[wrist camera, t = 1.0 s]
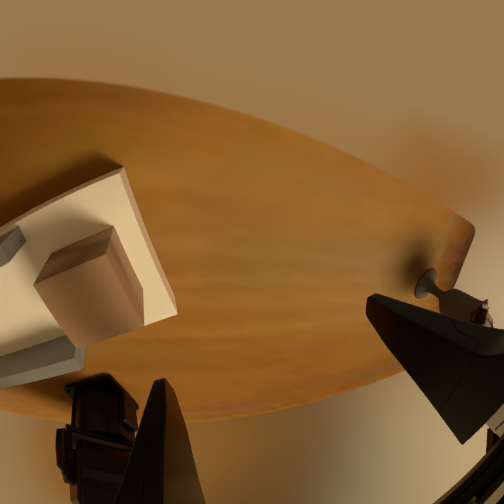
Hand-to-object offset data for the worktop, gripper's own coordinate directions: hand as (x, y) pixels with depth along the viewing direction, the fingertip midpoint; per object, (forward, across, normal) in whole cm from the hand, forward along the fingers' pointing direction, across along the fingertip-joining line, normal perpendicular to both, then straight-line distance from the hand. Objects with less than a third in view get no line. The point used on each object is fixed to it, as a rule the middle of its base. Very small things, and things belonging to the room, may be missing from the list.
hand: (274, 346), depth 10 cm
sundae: (+13, -27, +18) cm, 35 cm away
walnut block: (+10, +8, 0) cm, 13 cm away
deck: (+13, +17, 0) cm, 22 cm away
